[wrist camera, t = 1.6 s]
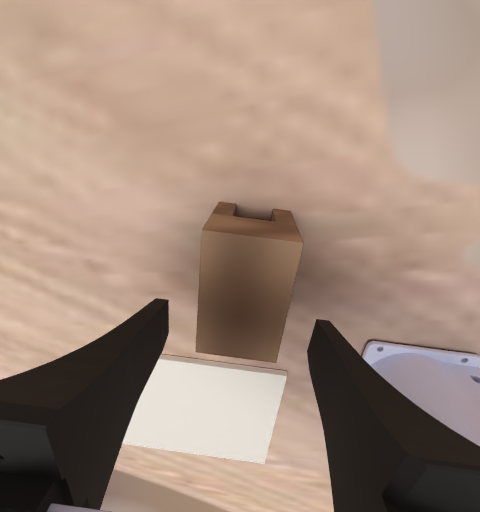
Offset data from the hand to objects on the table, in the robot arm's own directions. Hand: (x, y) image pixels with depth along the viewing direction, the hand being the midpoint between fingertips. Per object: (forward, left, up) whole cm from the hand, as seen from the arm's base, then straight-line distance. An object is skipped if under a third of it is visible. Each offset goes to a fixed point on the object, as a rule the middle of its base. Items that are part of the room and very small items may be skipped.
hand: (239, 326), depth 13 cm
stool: (0, 0, -8) cm, 8 cm away
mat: (+4, +18, -8) cm, 20 cm away
